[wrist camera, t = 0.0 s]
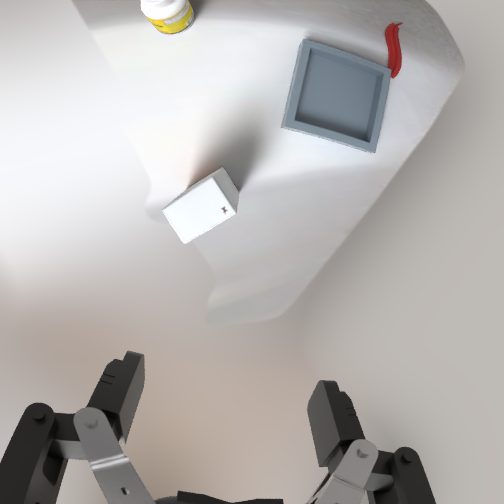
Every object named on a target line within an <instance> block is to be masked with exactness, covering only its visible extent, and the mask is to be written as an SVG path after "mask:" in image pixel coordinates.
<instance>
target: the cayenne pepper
mask: <svg viewBox="0 0 504 504" xmlns="http://www.w3.org/2000/svg"><path fill="white" fill-rule="evenodd" d="M400 24H402V23H400ZM400 24H396V25H395V24H394V23H392V24H390V25H389V26H388V27H387V28H386V32H385V37H386V42H387V46H388V52H389V61H388V68H389V69H391V76H390V77H392V78H394V77H396V76H397V74H398V73H399V71H400V69H401V63H402V56H401V49H400V44H399V39H398V31H399V28H398V26H399V25H400Z"/></svg>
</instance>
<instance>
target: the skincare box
mask: <svg viewBox="0 0 504 504" xmlns="http://www.w3.org/2000/svg"><path fill="white" fill-rule="evenodd" d="M238 198H239V192H238V190H237V188H236V187H235V185H234V183H233V182H232V180H231V179H230V177H229V176H228V174H227V172H226V171H225V169H224V168H223V167H221V168H219V169H218V170H216V171H215V172H213V173H211V174H210V175H208V176H207V177H205V178H203V179H202V180H200V181H199V182H197V183H196V184H194V185H193V186H191V187H190V188H188V189H187V190H185V191H184V192H183V193H181V194H180V195H179V196H178V197H176V198H175V199H174V200H173V201H172V202H170V203H169V204H168V205H167V206H166V207H165V208H163V209H162V211H163V213H164V214H165V216H166V218H167V219H168V221H169V222H170V224H171V225H172V227H173V228H174V230H175V231H176V233H177V234H178V236H179V237H180V239H181V240H182V242H183V243H184V244H186V243H188V242H190V241H191V240H193V239H195V238H196V237H198V236H200V235H201V234H203V233H205V232H207V231H209V230H211V229H212V228H214V227H215V226H217V225H218V224H220V223H222V222H223V221H225V220H227V219H228V218H230V217H231V216H233V215H235V214H236V213H237V206H238Z"/></svg>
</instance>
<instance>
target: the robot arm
mask: <svg viewBox="0 0 504 504" xmlns="http://www.w3.org/2000/svg"><path fill="white" fill-rule="evenodd" d="M144 372H145V369H144V355H143V354H139V353H136V352H132V351H127V353H126V355H125V357H124V359H123V361H122V360H118V359H114V360H113V361H112V362H110V363H109V364H108V365H107V366H106V368H105V370H104V372H103V375H102V376H101V378H100V381H99V382H98V384H97V386H96V388H95V390H94V392H93V395H92V396H91V399H90V401H89V403H88V405H87V406H86V407H85V408H82V409H80V410H79V411H78V412H76V413H74V414H64V413H54V412H53V410H52V408H51V407H49V406H48V405H46V404H44V403H33V404H31V405H29V406H28V407H27V408H26V410H25V412H24V413H23V415H22V417H21V419H20V421H19V423H18V426H17V427H16V429H15V432H14V434H13V436H12V438H11V440H10V442H9V445H8V447H7V449H6V451H5V453H4V456H3V458H2V460H1V463H0V504H56V500H57V496H58V493H59V489H60V486H61V482H62V479H63V476H64V472H65V469H66V466H67V462H68V459H79V460H88V461H89V464H90V466H91V468H92V471H93V473H94V475H95V478H96V480H97V482H98V484H99V486H100V488H101V490H102V492H103V494H104V496H105V498H106V500H107V502H108V504H283V499H254V500H248V501H242V502H235V503H230V502H226V501H223V500H220V499H216V498H213V497H210V496H207V495H204V494H196V493H190V492H183V491H178V494H177V496H169V497H164V498H159V499H157V500H153V498H152V497H151V495H150V493H149V492H148V491H147V489H146V487H145V486H144V484H143V482H142V481H141V479H140V477H139V476H138V474H137V472H136V470H135V469H134V467H133V465H132V464H131V462H130V460H129V458H128V457H127V456H125V454H124V453H123V451H122V449H121V447H120V445H119V443H120V444H126V441H127V437H128V434H129V431H130V428H131V425H132V421H133V418H134V415H135V412H136V409H137V406H138V403H139V400H140V397H141V394H142V391H143V387H144V379H145V373H144ZM307 411H308V417H309V421H310V426H311V431H312V435H313V440H314V444H315V449H316V454H317V458H318V463H319V467H328V470H329V471H328V473H327V474H326V475H325V477H324V478H323V480H322V481H321V483H320V484H319V486H318V487H317V489H316V491H315V492H314V493H313V495H312V496H311V498H310V499H309V500H308V502H307V503H306V504H360V502H361V500H362V498H363V496H364V494H365V490H366V491H367V495H368V500H369V504H436V502H435V499H434V496H433V494H432V491H431V488H430V485H429V482H428V480H427V477H426V474H425V471H424V468H423V466H422V463H421V461H420V458H419V456H418V454H417V452H416V451H414V450H413V449H411V448H409V447H401V448H399V449H398V450H397V451H396V452H395V453H391V452H385V451H380V450H378V449H377V447H376V446H375V445H374V444H373V443H371V442H370V441H368V440H366V439H365V436H364V434H363V431H362V428H361V425H360V422H359V420H358V417H357V416H356V412H355V409H354V407H353V403H352V401H351V399H350V398H349V396H348V395H347V394H346V393H345V392H340V390H339V387H338V385H337V382H335V381H325V380H320V381H319V382H318V384H317V386H316V388H315V390H314V392H313V394H312V396H311V398H310V400H309V403H308V409H307Z"/></svg>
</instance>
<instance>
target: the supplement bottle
mask: <svg viewBox="0 0 504 504" xmlns="http://www.w3.org/2000/svg"><path fill="white" fill-rule="evenodd" d="M141 9H142V12H143V13H144V14H145V16H146V17H147V18H148V19H149V20H150V22H151V23H152V24H153V25H154V26H155V27H156V28H157V30H158V31H160V32H161V33H163V34H166V35H176V34H180V33H182V32H184V31H185V30H187V29H188V28H189V27H190V26H191V25H192V23H193V20H194V12H193V9H192V7H191V4H190V2H189V0H141Z"/></svg>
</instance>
